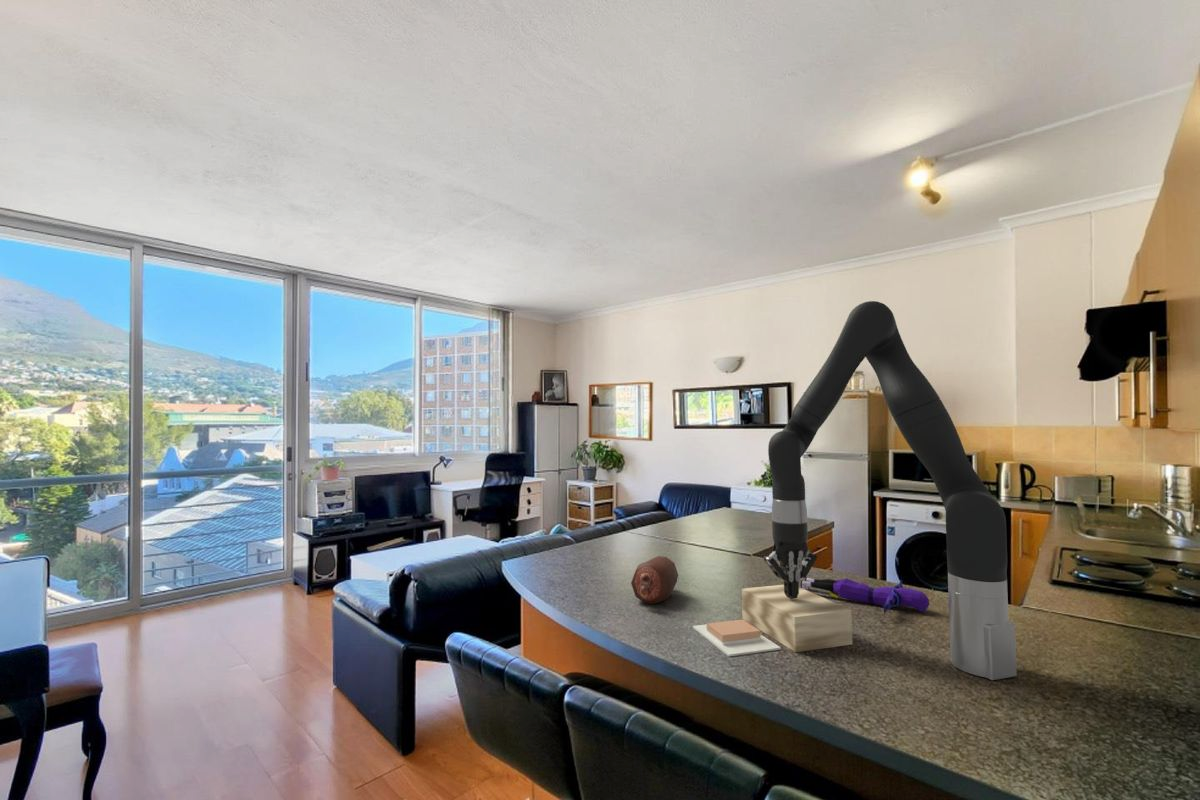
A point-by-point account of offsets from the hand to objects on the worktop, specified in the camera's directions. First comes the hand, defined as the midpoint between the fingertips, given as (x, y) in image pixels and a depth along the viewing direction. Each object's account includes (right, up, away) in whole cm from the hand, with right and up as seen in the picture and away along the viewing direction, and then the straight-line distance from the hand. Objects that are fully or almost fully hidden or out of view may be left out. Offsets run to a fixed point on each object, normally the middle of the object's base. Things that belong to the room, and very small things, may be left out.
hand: (791, 597), depth 119 cm
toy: (+26, -9, +20) cm, 34 cm away
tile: (-14, -5, -4) cm, 15 cm away
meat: (-28, -9, +23) cm, 37 cm away
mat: (-14, -7, -4) cm, 16 cm away
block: (+1, -8, 0) cm, 8 cm away
